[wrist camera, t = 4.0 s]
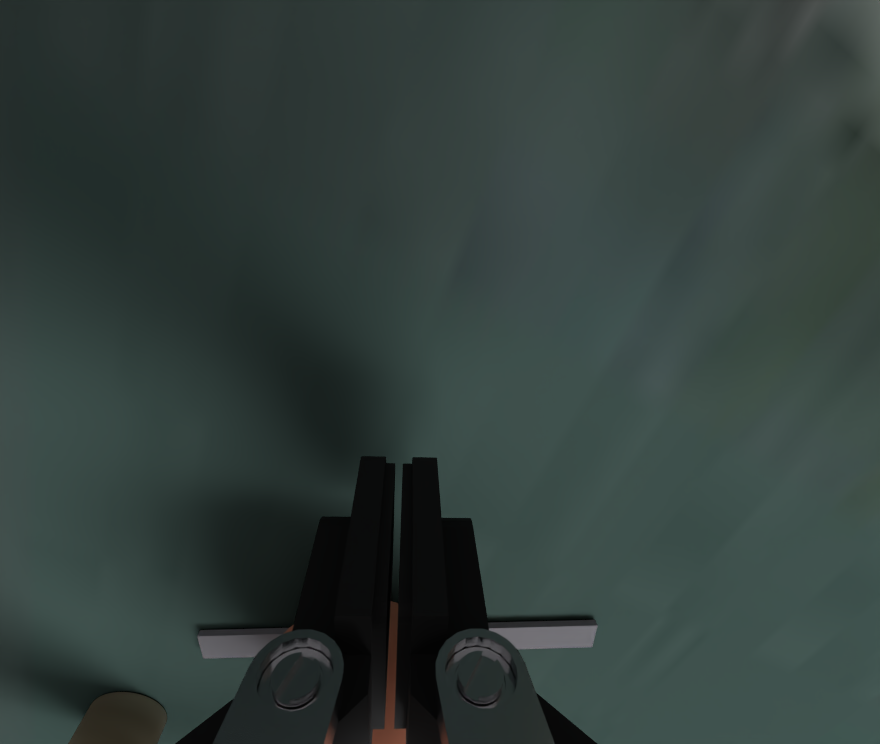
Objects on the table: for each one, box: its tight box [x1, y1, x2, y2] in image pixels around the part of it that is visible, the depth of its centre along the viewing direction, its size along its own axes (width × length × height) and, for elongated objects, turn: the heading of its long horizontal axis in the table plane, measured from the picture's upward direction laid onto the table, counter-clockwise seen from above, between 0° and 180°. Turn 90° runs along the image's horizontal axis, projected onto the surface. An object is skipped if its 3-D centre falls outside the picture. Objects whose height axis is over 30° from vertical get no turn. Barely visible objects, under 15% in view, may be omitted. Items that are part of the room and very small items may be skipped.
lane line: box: [197, 620, 597, 659], centre depth 15 cm, size 12×1×1 cm, turn 88°
